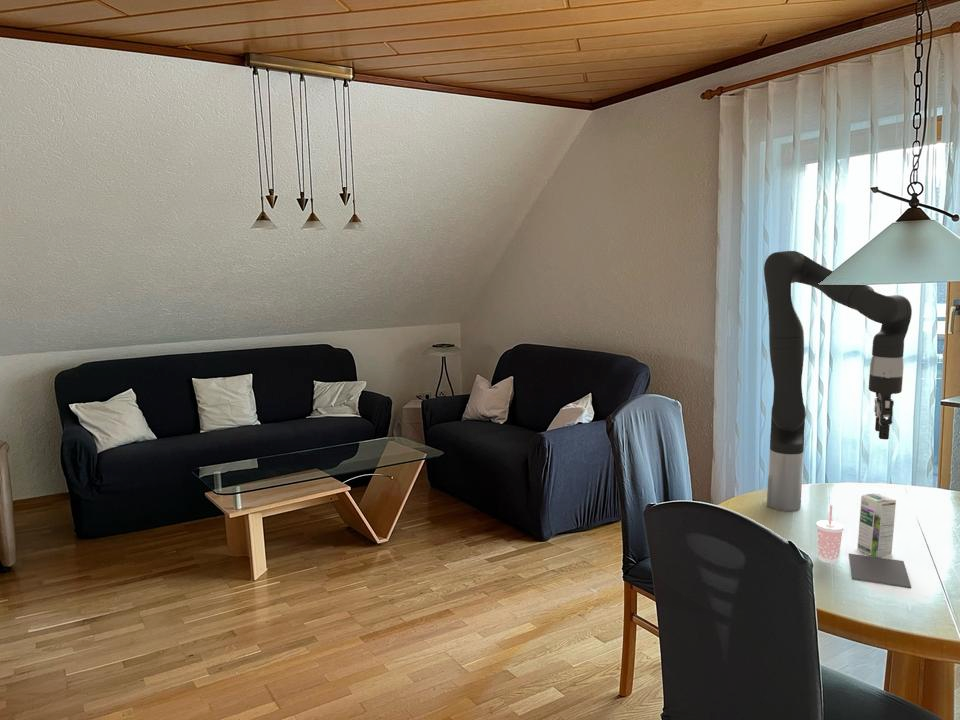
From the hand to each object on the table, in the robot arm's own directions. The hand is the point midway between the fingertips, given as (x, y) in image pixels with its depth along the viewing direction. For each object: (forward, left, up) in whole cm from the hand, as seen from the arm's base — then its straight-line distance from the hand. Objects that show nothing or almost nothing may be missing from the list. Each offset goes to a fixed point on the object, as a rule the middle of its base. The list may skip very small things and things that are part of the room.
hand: (881, 435), depth 191 cm
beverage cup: (-12, -20, -28) cm, 36 cm away
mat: (-1, -22, -28) cm, 36 cm away
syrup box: (-1, -11, -28) cm, 30 cm away
